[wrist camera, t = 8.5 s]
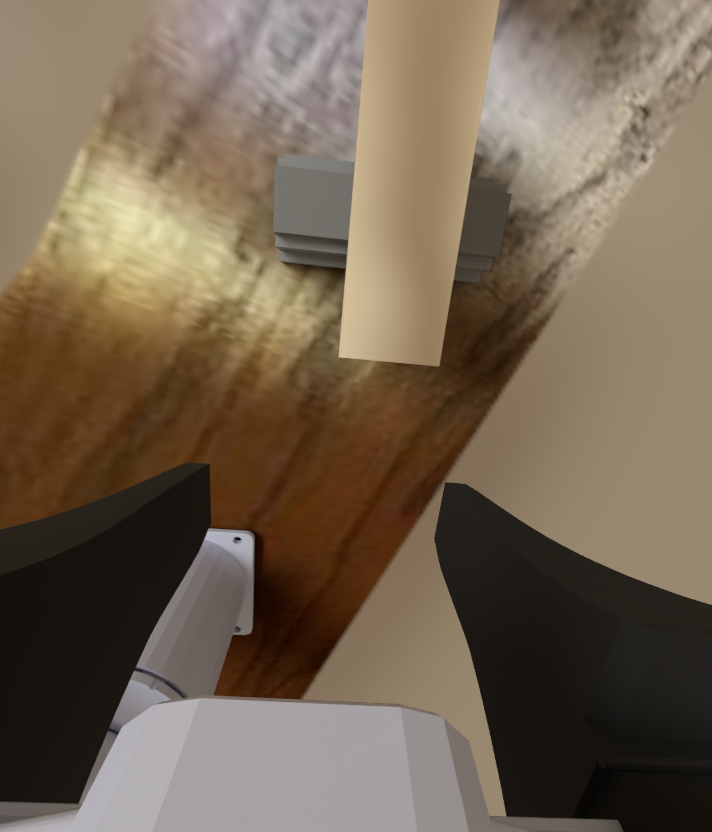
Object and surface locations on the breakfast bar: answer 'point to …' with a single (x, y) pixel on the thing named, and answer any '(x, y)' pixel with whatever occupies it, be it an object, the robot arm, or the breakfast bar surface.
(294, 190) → the stepped block
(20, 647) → the robot arm
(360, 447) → the breakfast bar surface
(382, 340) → the bar
